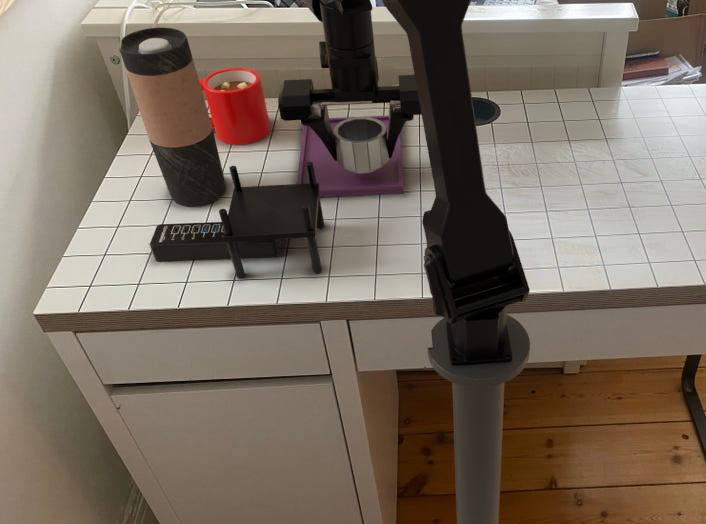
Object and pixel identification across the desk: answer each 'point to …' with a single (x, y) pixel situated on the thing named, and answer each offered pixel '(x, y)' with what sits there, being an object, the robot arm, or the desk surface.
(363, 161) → the bowl
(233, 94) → the mug
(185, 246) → the multiport hub
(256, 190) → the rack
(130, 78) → the travel mug
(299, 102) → the robot arm
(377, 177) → the purple tray
